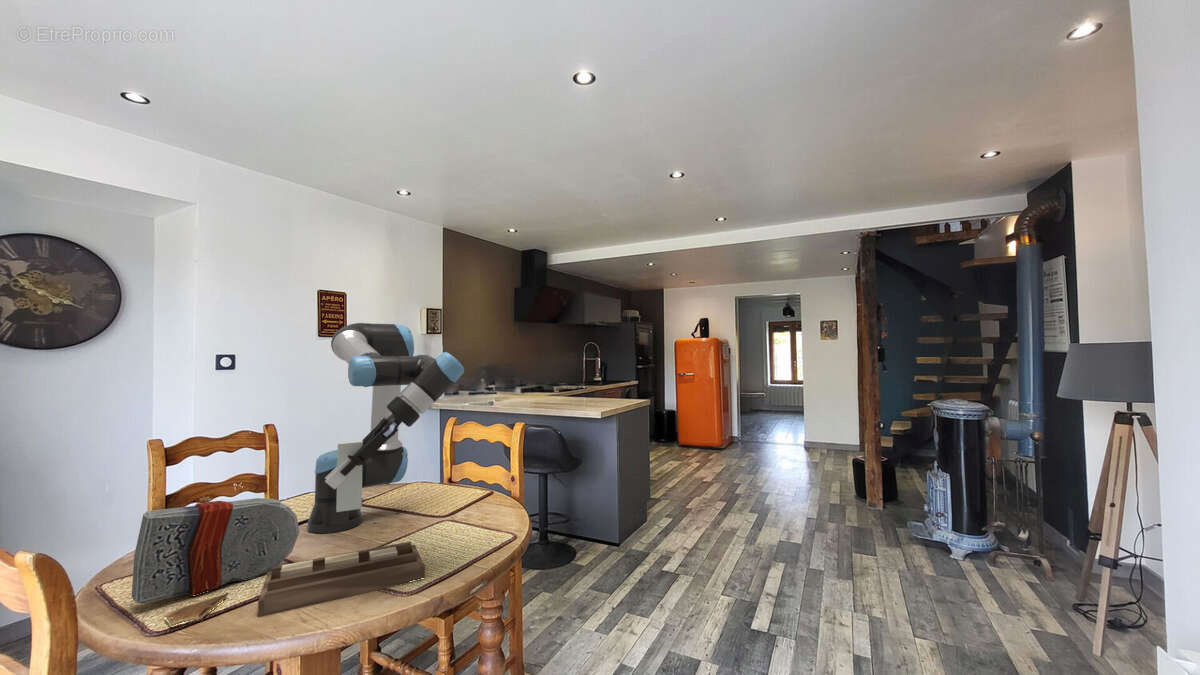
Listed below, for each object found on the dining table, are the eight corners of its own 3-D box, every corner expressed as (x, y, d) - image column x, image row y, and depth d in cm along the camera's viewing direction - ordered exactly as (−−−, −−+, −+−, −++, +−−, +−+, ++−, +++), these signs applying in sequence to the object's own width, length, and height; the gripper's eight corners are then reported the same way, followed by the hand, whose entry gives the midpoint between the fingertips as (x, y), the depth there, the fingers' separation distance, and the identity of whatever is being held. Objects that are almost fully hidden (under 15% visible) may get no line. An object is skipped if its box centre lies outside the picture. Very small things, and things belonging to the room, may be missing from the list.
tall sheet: (336, 508, 107) (337, 442, 108) (360, 505, 110) (362, 440, 111) (336, 512, 105) (337, 444, 106) (361, 508, 107) (362, 442, 108)
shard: (228, 599, 103) (229, 590, 103) (240, 609, 99) (241, 601, 99) (162, 621, 95) (162, 612, 95) (172, 634, 90) (172, 624, 90)
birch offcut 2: (324, 579, 112) (325, 557, 112) (357, 572, 115) (358, 551, 116) (324, 586, 108) (324, 563, 109) (358, 578, 112) (358, 557, 112)
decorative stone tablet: (147, 514, 97) (305, 494, 121) (140, 508, 101) (295, 490, 125) (131, 613, 95) (296, 574, 119) (125, 604, 99) (286, 567, 122)
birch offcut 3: (369, 570, 116) (369, 551, 117) (395, 564, 119) (395, 546, 120) (370, 576, 113) (370, 557, 113) (397, 570, 116) (397, 552, 116)
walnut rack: (267, 585, 109) (267, 567, 109) (414, 556, 124) (414, 540, 125) (257, 616, 95) (258, 596, 95) (424, 579, 111) (424, 562, 111)
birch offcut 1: (281, 587, 108) (282, 565, 108) (312, 581, 111) (312, 559, 111) (279, 595, 104) (280, 571, 104) (311, 588, 107) (312, 566, 107)
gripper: (427, 418, 109) (343, 502, 100) (416, 412, 123) (342, 486, 114) (402, 396, 107) (315, 480, 97) (394, 393, 121) (317, 466, 111)
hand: (330, 483), depth 106 cm, fingers closed on tall sheet, 3 cm apart
